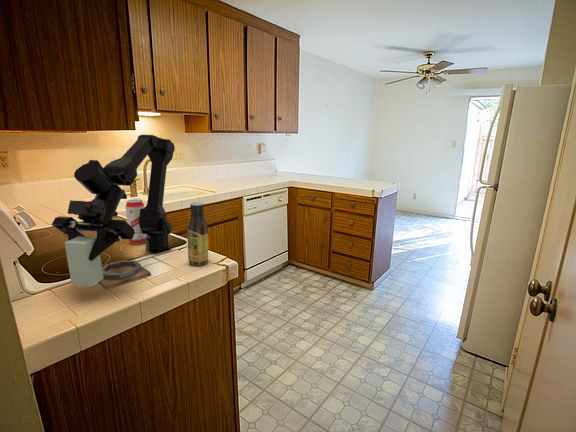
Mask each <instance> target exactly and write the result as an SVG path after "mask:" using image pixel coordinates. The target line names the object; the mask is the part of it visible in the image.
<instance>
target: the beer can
mask: <svg viewBox="0 0 576 432" xmlns="http://www.w3.org/2000/svg"><path fill="white" fill-rule="evenodd" d="M125 204H126V205H125V214H126V222H127V223H128V224H129V225H130V226H131V227H132V228H133V229H134V232H135V234H134V236H133V239H132V240H130V239H128V241H129V243H130V244H132V245H134V246H136V245H137V246H138V245H143V244H146V240H145V239H146V238H147V235H146V234H142V232H141V229H140V226H139V216H140V210H141V209H144V208H145V206H146V205H145V203H144V202H143V200H142V199H129V200H126V203H125Z"/></svg>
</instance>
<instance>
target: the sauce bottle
mask: <svg viewBox="0 0 576 432" xmlns="http://www.w3.org/2000/svg"><path fill="white" fill-rule="evenodd" d="M189 208H190V219H189V221H188V226H187V230H186V231H187V233H186V234H187V258H188V263H189V265H191V266H195V267H199V266H200V267H201V266H204V265H206V264H207V263H208V262H209V231H208V222H207V221H206V219H205V214H204V208H205V203H204V202H202V201H201V202H200V201H195V202H192V203H190V206H189Z"/></svg>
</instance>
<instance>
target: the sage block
mask: <svg viewBox="0 0 576 432" xmlns="http://www.w3.org/2000/svg"><path fill="white" fill-rule="evenodd" d="M96 238H97V237H93V236H85V237H80V236H79V237H77V238H74V239H72V240H69V241H68V240H66V241H64V247H65V253H66V261H67V267H68V271H69V277H70V278H69V279H70V283H71V286H74V287H75V286H77V287H85V288H86V287H88V288H91V287H93V286H94V285H96V284H98V283H99V281H100V280H102V279H103V271H102V267H103V265H102V260H101V254H100V255H98V256H97V257H96V258H95V259H94V260H93V261H90V260H89V255H90V252H91V250H92V248H93V245H94V243H95V241H96Z"/></svg>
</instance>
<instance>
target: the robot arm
mask: <svg viewBox="0 0 576 432" xmlns="http://www.w3.org/2000/svg"><path fill="white" fill-rule="evenodd" d="M175 150H176V149H175V144H174V143H173V141H171V139H170V138H169V139H168V138H162V137H158V136H157V135H154V134H140V135H138V136H137V139H136V141H135V142H134V143H133V144H132V145H131V146H130V147H129V148H128V149H127V150H126V152H125V153H124V154H123V155H122V156H121V157H119V158H117V159H113V160H111V161H110V162H109V163H107V164H106V165H105V166H104V167H103V166H102V164H101V163H100V162H99V161H98V159H96V160H95V159H89V160H88V162H87V163H84V164H82V165H80V166H79V167H78V168H77V169H75V171H74V175H73V176H74V178H75V180H76V181H77V182H78V183H79V184H80V185H82V186H83V187H84V188H85V190H87V191H88V192H89V193H90V194H92V195H95V196H94V198H93V199H92V200H88V201H87V200H74V199H73V200H71V199H70V200H69V204H68V209H67V214H68V215H76V216H77V218H78V219H79V220H81V221H82V222H79V221H77V220H76V219H75V218H73V217H72V216H63V215H62V216H61V215H60V216H56V217H54V219H53V221H52V223H51V226H52V227H54V228H55V229H57V231H60V232H61V233H63V234H64V235H65V236H67V238H68V240H67V241H69V240H72V239H74V238H77V237H79V236H80V237H86V236H85V235H84V232H86V231H87V232H96V237H95V238H96V241H95V243H94V245H93V248H92V250H91V252H90V255H89V260H90V261H93V260H94V259H95V258H96V257H97V256H98V255H100V256H101V254H102V253H103V252H104V251H106V250H107V249H108V248H110V247H111V246H112V245H114V244H115V243H116V242H117V243H118V242H120V240H129V239H130V240H132V239H133V236H134V234H135V232H134V229H133V228H132V227H131V226H130V225H129V224H128V223H127V220H125V219H113V218H114V217H115V218H116V217H118V215H119V213H118V212H117V208H118V206H119V204H120V202H121V200H127V199H128V196H127V193H126V191H125V189H122V188H121V187H120V186H124V187H125V186H126V187H128V186H129V187H130V186H132V185H133V184H134V181H135V180H136V179H137V176H138V171H137V170H138V167H140V165H141V164H142V162H143V161H144V160H145V159H146V157H147V156H148V158H149V160H150V163H151V165H150V175H149V183H148V184H149V185H148V193H147V202H146V205H144V206H145V208H144V209H141V210H140V216H139V226H140V229H141V232H142V234H146V235H147V238H146V239H145V240H146V242H145V250H147V251H148V252H150V254H151V253H152V255H153V254H154V255H155V254H159V253H162V252H166V251H170V250H172V248H171V247H170V246H169V235H171V234H172V232H173V231H172V230H173V225H172V224H171V223H170V222H169V221H168V219H167V216H168V215H167V212H166V210H165V208H164V205H163V204H164V197H165V195H164V194H165V186H166V176H167V167H168V165H169V163H170V162H171V161H172V160H173V159H174V158H173V157H174V152H175Z"/></svg>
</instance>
